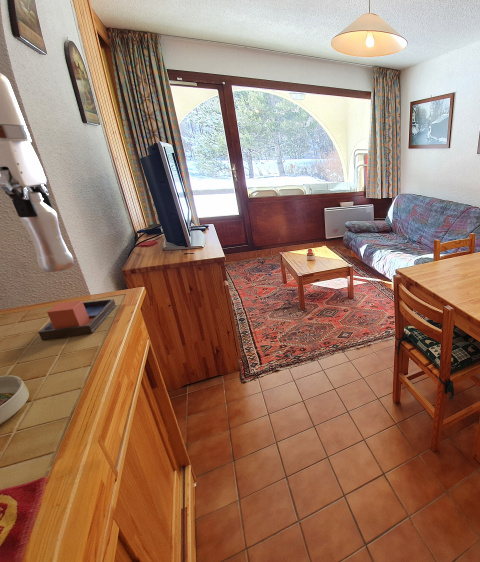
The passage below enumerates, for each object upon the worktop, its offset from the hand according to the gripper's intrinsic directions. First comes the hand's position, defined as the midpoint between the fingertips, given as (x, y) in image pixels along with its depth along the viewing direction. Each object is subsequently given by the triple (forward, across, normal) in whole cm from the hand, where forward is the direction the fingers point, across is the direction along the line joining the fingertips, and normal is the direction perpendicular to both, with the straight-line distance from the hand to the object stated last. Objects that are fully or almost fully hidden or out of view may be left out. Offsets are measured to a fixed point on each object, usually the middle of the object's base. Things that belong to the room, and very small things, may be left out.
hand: (37, 213), depth 76 cm
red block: (+28, +9, +3) cm, 29 cm away
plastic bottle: (+15, 0, 0) cm, 15 cm away
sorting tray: (+28, +5, +3) cm, 29 cm away
